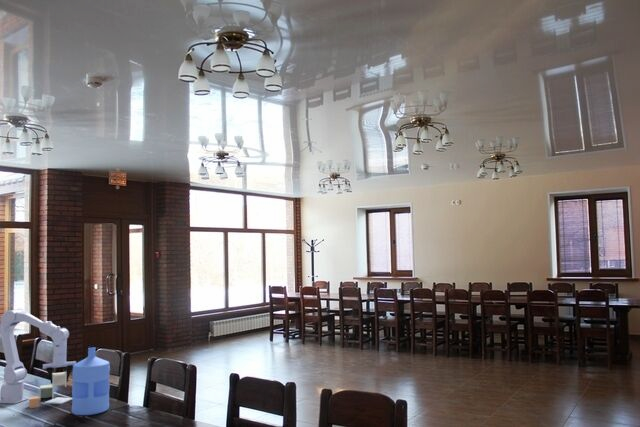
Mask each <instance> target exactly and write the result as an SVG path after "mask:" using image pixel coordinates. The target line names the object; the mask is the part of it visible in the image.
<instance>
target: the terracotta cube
mask: <svg viewBox="0 0 640 427" xmlns="http://www.w3.org/2000/svg"><path fill="white" fill-rule="evenodd" d="M28 407H29V409H33V408H40V400H39V396H31V397H29V404H28Z"/></svg>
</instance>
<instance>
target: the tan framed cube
mask: <svg viewBox="0 0 640 427" xmlns="http://www.w3.org/2000/svg"><path fill="white" fill-rule="evenodd" d="M66 378H67V371H63V372H52V389H53V388H54V387H57V386H64V387H65V388H67V382H66Z"/></svg>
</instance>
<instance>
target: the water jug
mask: <svg viewBox="0 0 640 427" xmlns="http://www.w3.org/2000/svg"><path fill="white" fill-rule="evenodd" d="M87 349H88V350H87V354H88V355H87V356H86V357H85V358H84V359H81V360H80V361H78V362H76V364H74V365H73V366H72V367H73V368H72V388H71V393H72V396H71V398H72V400H71V409H70V410H71V413H72V414H73V415H76V416H92V415H97V414H101V413H104V412H106V411H108V410H109V408H110V388H111V387H110V386H111V385H110V371H111V365H110V361H108V360H106V359H103V358H101V357H98V356H96V352H97V351H96V347H94V346H93V347H88V348H87Z"/></svg>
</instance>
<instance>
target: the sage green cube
mask: <svg viewBox="0 0 640 427" xmlns="http://www.w3.org/2000/svg"><path fill="white" fill-rule="evenodd" d="M54 390H55V389H54V388H53V389H52V384H51V383H50V384H46V385H45V384H44V385H39V396H38V397H39V402H42V401H41V400H42V399H46V398H51V400H52V399H54V394H55V393H54Z"/></svg>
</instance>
